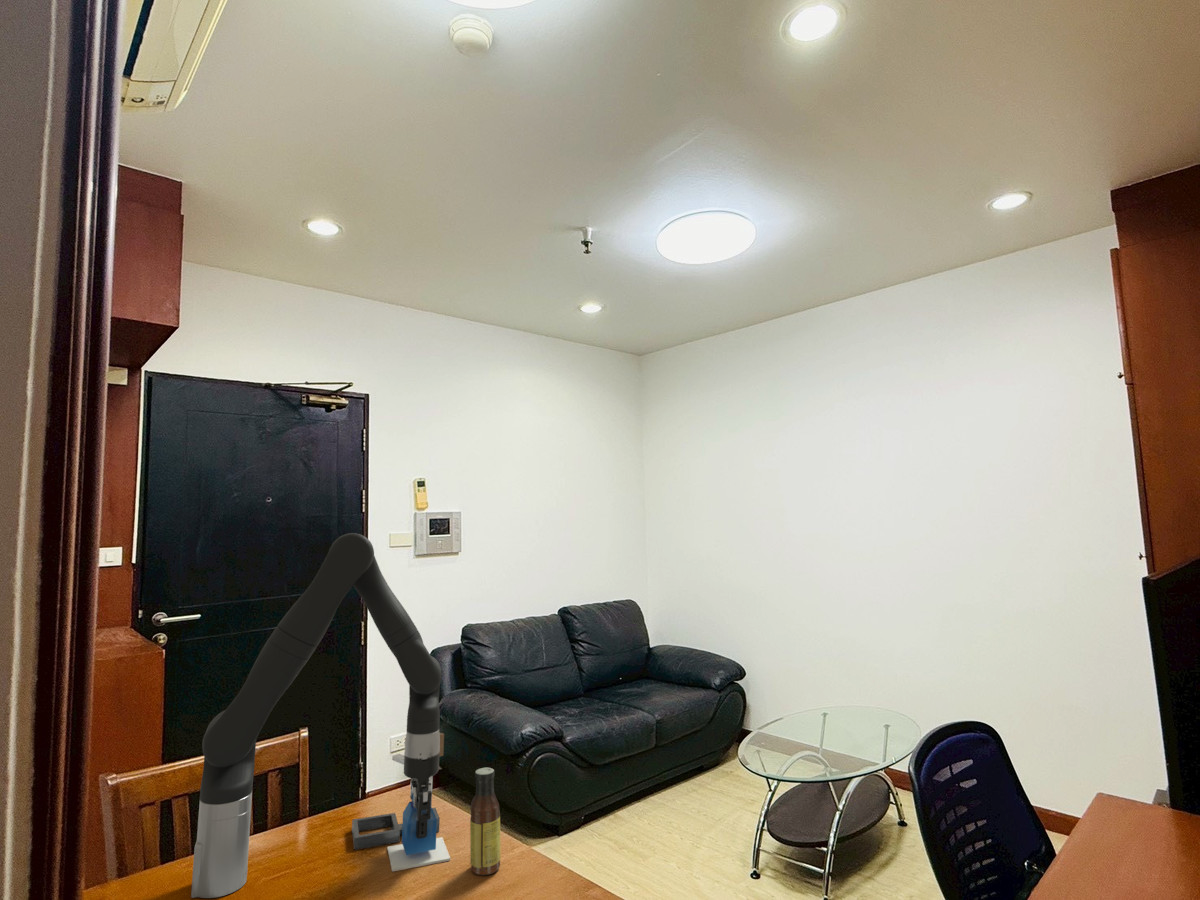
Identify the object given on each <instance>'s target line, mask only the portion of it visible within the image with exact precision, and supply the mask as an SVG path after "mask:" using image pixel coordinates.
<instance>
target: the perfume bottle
mask: <svg viewBox="0 0 1200 900" xmlns="http://www.w3.org/2000/svg"><path fill="white" fill-rule="evenodd" d="M412 800H413V801H412ZM411 801H412V802H411ZM411 801H409V802H408V804H407V805H406V807H405V809H404V810H403V812H402V823H401V824H402V835H401V844H403V847H404V850H405V853H406V855H409V854H414V853H419V852H425V851H430V850H435V849H436V838H437V832H436V828H437V819H436V816H435V814H434V812H433V809H432V808H433V806H431V810H430V815H431V817H430V819H429V820H427V836H426V837H425V838H419V839H418V838H417V837H416V809H415V808H414V799H413V796H412V799H411ZM417 803H418V802H417ZM422 813H426V812H425V810H422V811H421V814H422Z"/></svg>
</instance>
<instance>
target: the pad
mask: <svg viewBox="0 0 1200 900" xmlns="http://www.w3.org/2000/svg"><path fill="white" fill-rule="evenodd" d="M387 855H388V859H389V863H390V869H391V872H392V873H393V872H396V871H398V872H399V871H403V870H408V869H413V868H418V867H424V866H429V865H435V864H439V863H445V862H449V861H451V856H450V853H449V851H448V848H447V845H446V843H445V841H444V838H443V836H440V837H436V849H435V850H430V851H425V852H419V853H414V854H409V855H406V853H405V850H404V847H403V844H402V843H401V844H394V845H390V846H387Z"/></svg>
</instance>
